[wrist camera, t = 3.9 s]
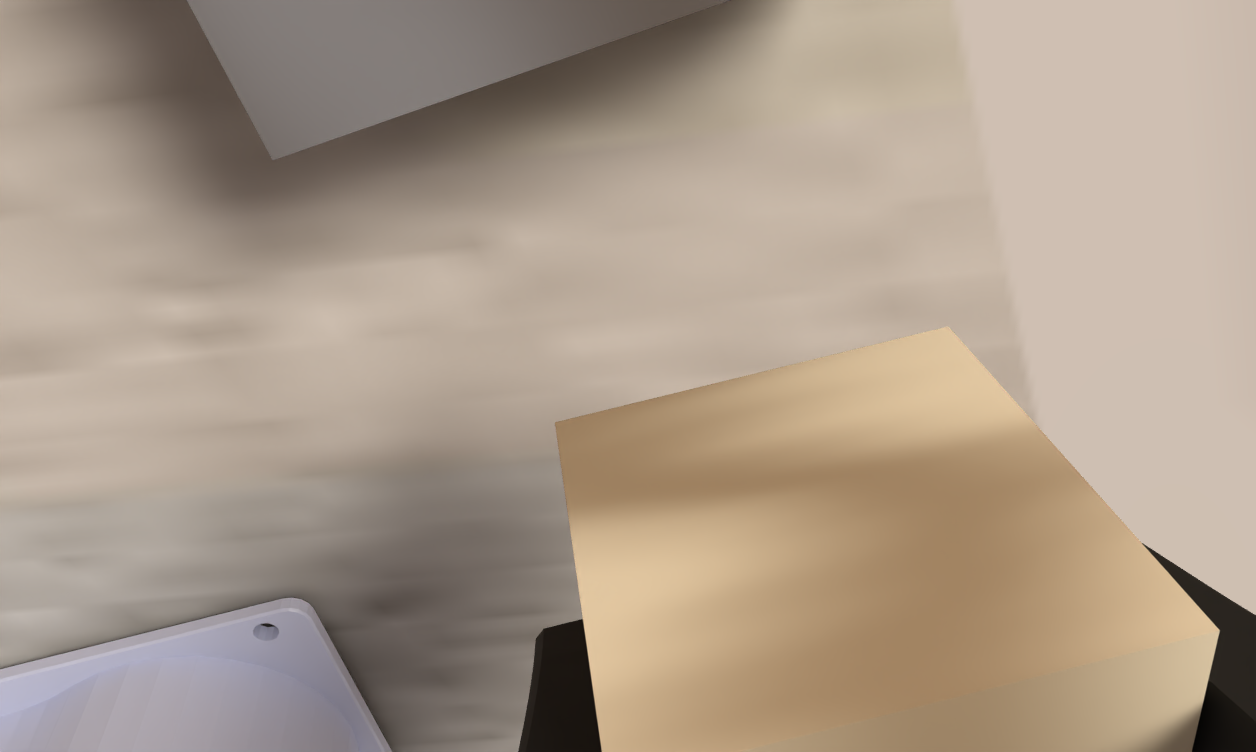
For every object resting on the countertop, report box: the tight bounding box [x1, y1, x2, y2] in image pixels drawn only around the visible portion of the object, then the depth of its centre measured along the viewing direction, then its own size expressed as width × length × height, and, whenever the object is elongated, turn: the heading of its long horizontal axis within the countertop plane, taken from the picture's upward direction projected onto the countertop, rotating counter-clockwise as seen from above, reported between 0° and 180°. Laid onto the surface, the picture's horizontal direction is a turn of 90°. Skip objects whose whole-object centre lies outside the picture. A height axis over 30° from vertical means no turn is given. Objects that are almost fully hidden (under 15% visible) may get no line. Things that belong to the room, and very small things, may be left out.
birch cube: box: [555, 327, 1220, 752], centre depth 10 cm, size 4×4×4 cm
